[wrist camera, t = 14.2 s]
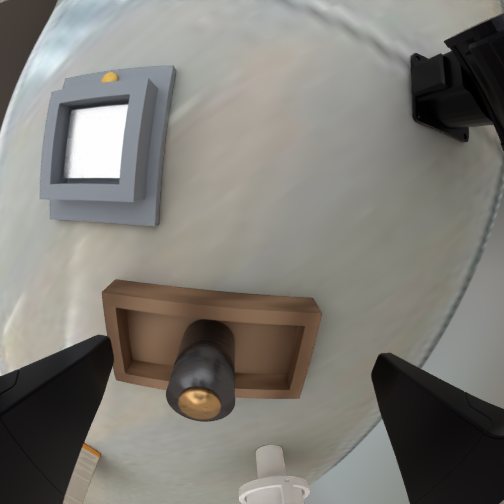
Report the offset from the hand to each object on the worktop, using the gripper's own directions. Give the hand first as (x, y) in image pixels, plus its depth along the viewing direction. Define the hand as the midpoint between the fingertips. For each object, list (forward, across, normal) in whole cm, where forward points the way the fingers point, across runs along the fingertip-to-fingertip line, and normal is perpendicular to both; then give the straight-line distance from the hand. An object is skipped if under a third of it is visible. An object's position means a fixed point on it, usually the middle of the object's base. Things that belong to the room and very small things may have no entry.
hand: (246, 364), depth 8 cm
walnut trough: (+12, +2, +7) cm, 13 cm away
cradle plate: (+10, +10, -7) cm, 16 cm away
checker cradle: (+12, +10, -7) cm, 17 cm away
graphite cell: (+11, +2, +7) cm, 13 cm away
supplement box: (+11, +22, +31) cm, 40 cm away
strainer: (+12, -5, +23) cm, 26 cm away
